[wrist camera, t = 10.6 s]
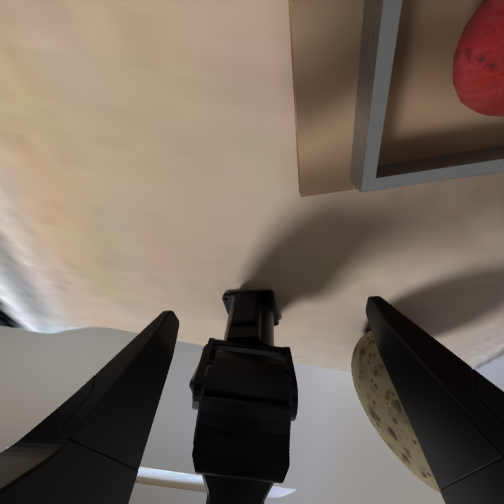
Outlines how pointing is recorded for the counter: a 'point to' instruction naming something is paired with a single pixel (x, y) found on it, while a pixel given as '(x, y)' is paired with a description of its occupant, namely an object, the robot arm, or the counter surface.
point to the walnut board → (399, 96)
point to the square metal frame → (374, 107)
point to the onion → (482, 60)
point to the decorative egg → (387, 408)
